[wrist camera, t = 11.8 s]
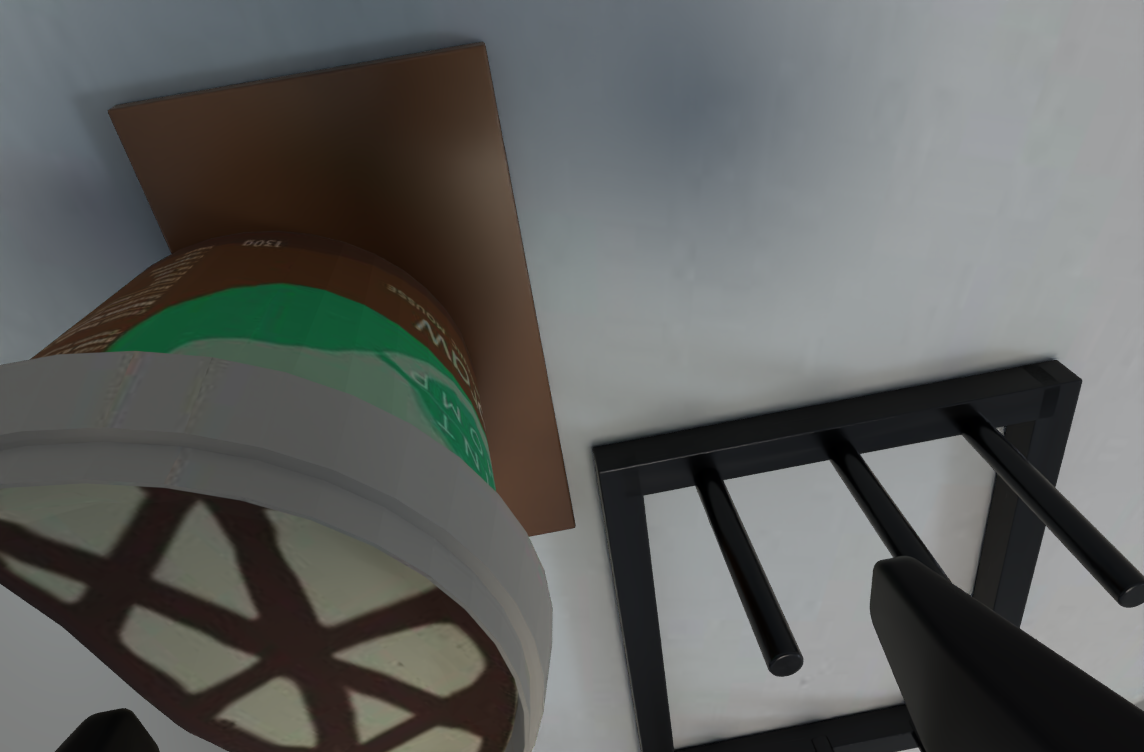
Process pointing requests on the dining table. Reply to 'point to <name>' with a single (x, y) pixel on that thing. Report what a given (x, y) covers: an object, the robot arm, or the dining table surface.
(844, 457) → the drying rack
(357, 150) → the walnut board
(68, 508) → the food container
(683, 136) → the dining table surface
